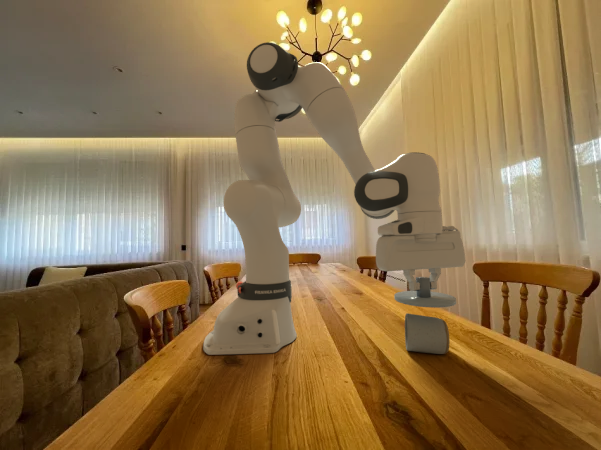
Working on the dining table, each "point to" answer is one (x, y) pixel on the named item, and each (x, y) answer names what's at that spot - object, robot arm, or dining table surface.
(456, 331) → the dining table surface
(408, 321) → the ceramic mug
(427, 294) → the lid
